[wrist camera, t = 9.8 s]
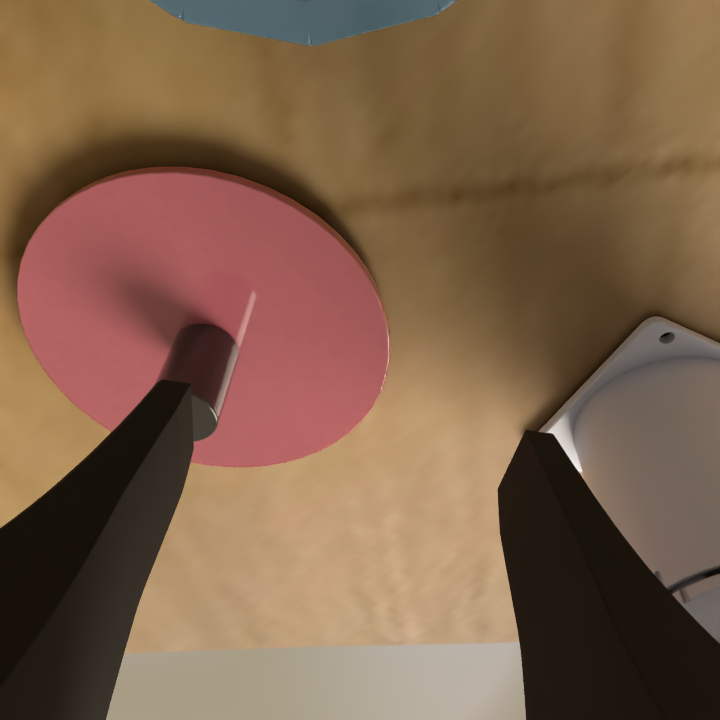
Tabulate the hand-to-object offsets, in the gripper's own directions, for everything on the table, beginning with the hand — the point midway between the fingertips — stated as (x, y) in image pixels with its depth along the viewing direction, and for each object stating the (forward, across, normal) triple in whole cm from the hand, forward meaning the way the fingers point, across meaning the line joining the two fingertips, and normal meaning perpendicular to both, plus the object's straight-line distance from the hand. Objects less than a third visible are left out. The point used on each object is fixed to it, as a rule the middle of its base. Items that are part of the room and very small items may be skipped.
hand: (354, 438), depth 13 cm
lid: (+9, +5, +5) cm, 11 cm away
